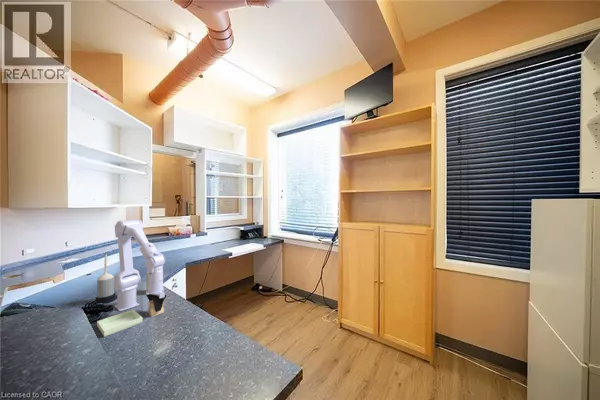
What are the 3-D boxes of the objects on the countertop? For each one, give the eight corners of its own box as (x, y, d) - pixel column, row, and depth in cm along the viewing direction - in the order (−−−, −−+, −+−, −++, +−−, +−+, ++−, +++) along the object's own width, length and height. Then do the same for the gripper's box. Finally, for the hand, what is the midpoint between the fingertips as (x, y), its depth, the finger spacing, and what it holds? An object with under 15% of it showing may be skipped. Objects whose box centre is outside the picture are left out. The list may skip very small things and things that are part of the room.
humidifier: (117, 296, 121) (117, 252, 122) (112, 302, 114) (112, 255, 114) (99, 299, 118) (99, 254, 118) (92, 305, 110) (92, 257, 111)
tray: (97, 326, 91) (97, 321, 91) (133, 313, 101) (133, 309, 101) (104, 337, 84) (104, 331, 84) (142, 322, 94) (142, 317, 94)
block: (148, 314, 101) (148, 301, 101) (160, 310, 105) (160, 297, 105) (151, 316, 98) (151, 303, 99) (163, 312, 102) (163, 299, 103)
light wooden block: (152, 294, 123) (152, 273, 124) (145, 293, 124) (145, 272, 125) (161, 290, 130) (161, 269, 130) (155, 289, 131) (155, 269, 131)
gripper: (140, 280, 103) (140, 308, 103) (152, 286, 94) (152, 317, 94) (157, 275, 109) (157, 302, 109) (169, 281, 100) (169, 311, 100)
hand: (156, 309), depth 102 cm, fingers open, 5 cm apart
